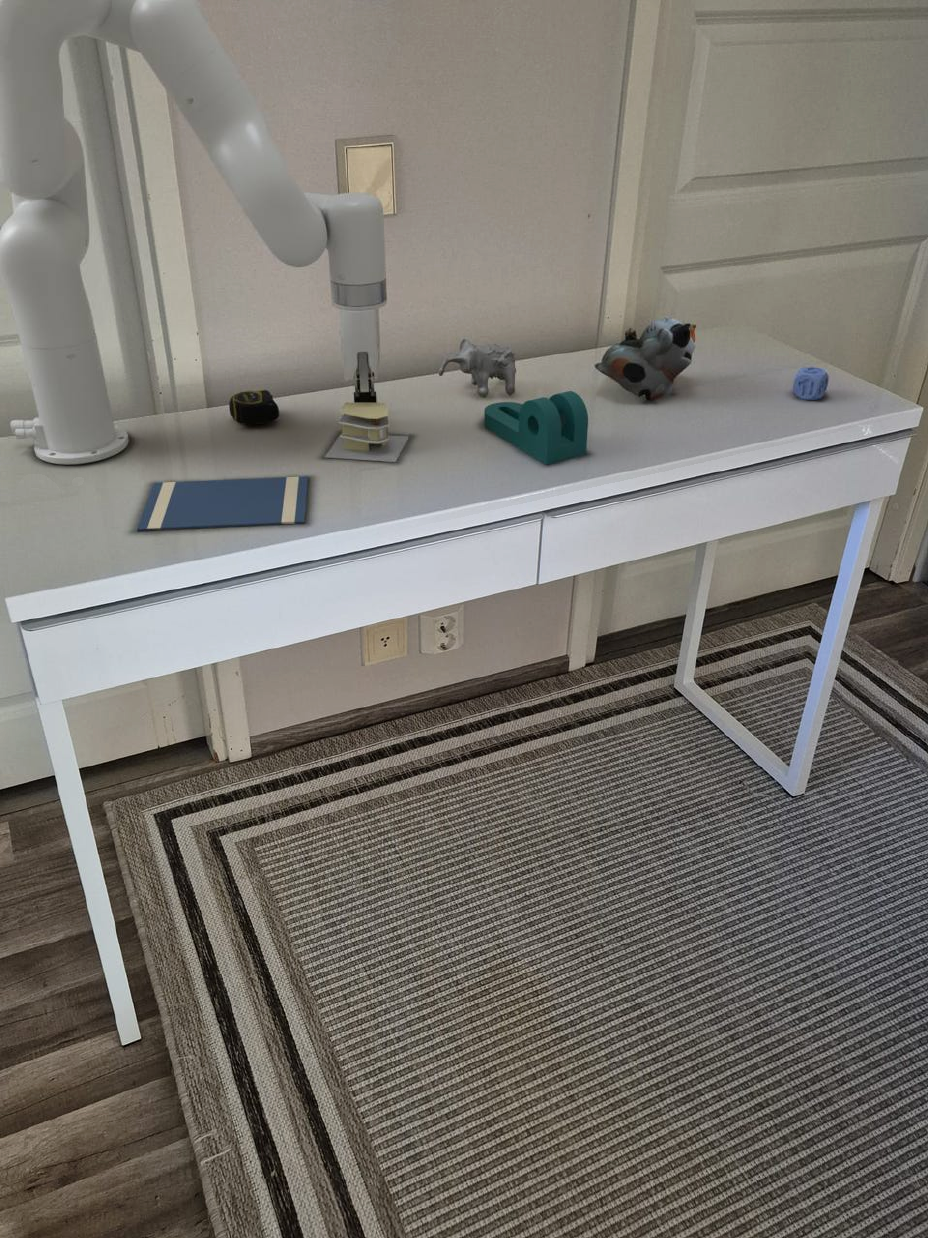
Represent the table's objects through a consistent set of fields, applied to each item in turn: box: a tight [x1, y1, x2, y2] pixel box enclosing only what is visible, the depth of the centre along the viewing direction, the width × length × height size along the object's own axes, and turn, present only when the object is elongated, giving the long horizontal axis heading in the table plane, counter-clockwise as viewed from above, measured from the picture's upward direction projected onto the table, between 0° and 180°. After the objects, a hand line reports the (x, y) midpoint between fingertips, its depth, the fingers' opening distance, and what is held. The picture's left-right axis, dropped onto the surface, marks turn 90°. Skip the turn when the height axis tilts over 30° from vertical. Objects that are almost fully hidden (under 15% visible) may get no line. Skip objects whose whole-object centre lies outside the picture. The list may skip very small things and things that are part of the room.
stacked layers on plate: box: [324, 401, 410, 463], centre depth 143 cm, size 10×9×6 cm
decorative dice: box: [792, 366, 830, 401], centre depth 160 cm, size 4×4×4 cm
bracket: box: [483, 390, 589, 466], centre depth 145 cm, size 18×7×8 cm, turn 32°
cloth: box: [136, 475, 309, 532], centre depth 130 cm, size 20×13×1 cm, turn 95°
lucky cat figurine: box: [594, 317, 697, 402], centre depth 160 cm, size 15×12×14 cm
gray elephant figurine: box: [438, 338, 517, 398], centre depth 161 cm, size 9×12×8 cm
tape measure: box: [228, 389, 280, 426], centre depth 152 cm, size 7×7×4 cm
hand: (366, 419), depth 149 cm, fingers closed
